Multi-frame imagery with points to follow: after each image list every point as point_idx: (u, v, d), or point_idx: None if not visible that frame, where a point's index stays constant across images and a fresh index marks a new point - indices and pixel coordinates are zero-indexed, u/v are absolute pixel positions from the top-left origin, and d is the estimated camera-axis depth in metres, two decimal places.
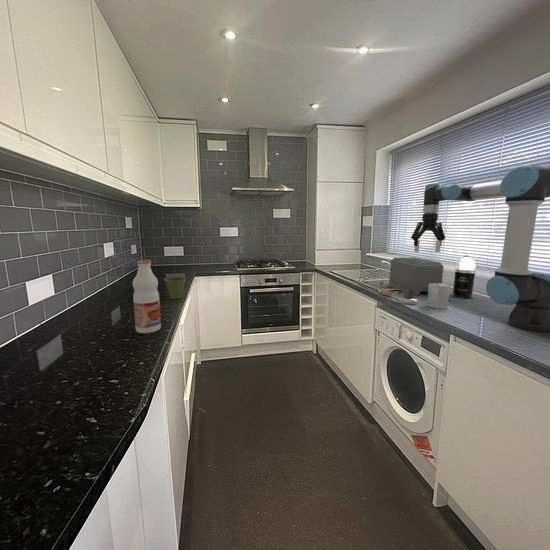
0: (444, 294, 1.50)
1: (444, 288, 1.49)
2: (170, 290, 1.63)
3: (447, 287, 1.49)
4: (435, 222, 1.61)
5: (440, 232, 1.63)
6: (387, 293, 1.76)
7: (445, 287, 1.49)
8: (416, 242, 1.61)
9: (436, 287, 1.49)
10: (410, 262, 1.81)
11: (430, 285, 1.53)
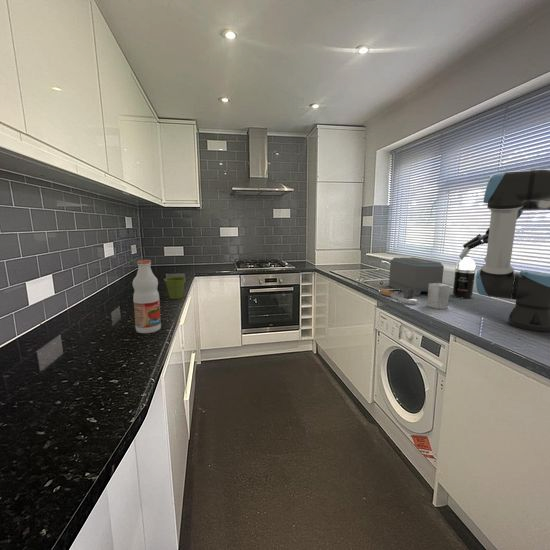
0: (444, 294, 1.50)
1: (444, 288, 1.49)
2: (170, 290, 1.63)
3: (447, 287, 1.49)
4: None
5: None
6: (387, 293, 1.76)
7: (445, 287, 1.49)
8: None
9: (436, 287, 1.49)
10: (410, 262, 1.81)
11: (430, 285, 1.53)
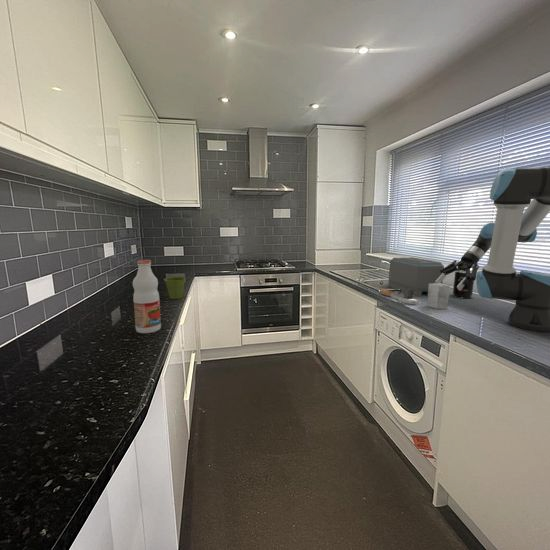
0: (444, 294, 1.50)
1: (444, 288, 1.49)
2: (170, 290, 1.63)
3: (447, 287, 1.49)
4: (470, 262, 1.53)
5: None
6: (387, 293, 1.76)
7: (445, 287, 1.49)
8: None
9: (436, 287, 1.49)
10: (411, 262, 1.81)
11: (430, 285, 1.53)
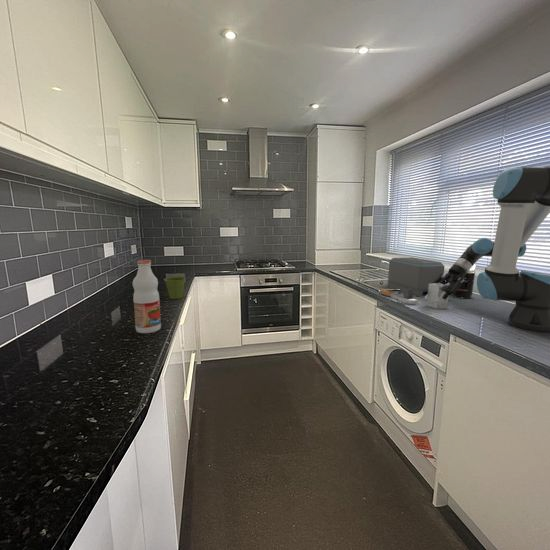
0: None
1: (444, 288, 1.49)
2: (170, 290, 1.63)
3: (447, 287, 1.49)
4: (458, 275, 1.51)
5: None
6: (387, 293, 1.76)
7: (445, 287, 1.49)
8: None
9: (436, 287, 1.49)
10: (412, 262, 1.80)
11: (430, 285, 1.53)
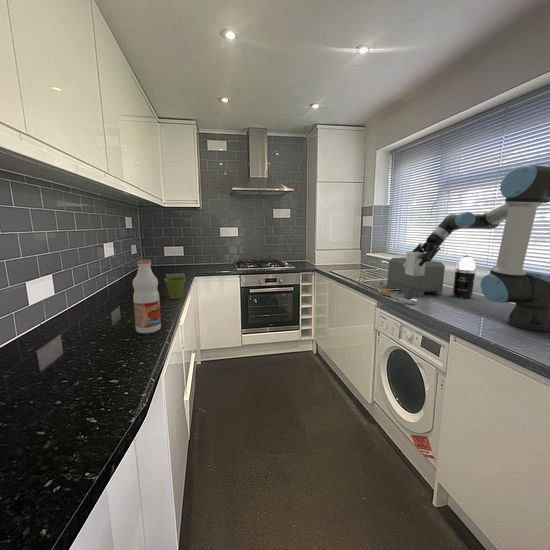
0: None
1: (420, 256, 1.54)
2: (170, 290, 1.63)
3: (423, 255, 1.55)
4: (434, 243, 1.56)
5: None
6: (387, 293, 1.76)
7: (422, 254, 1.54)
8: None
9: (413, 255, 1.55)
10: None
11: (408, 253, 1.59)
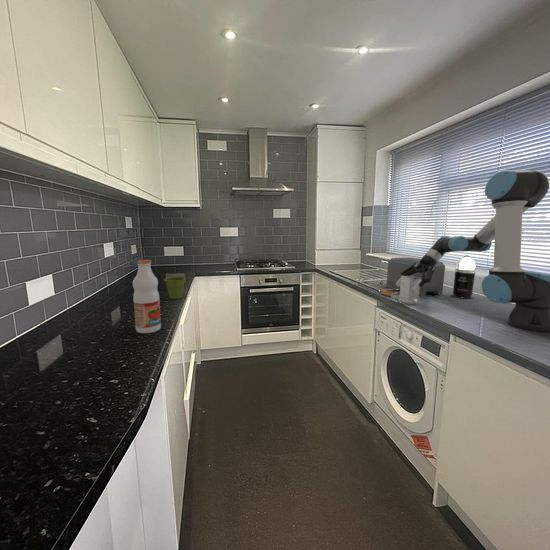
0: None
1: (415, 280, 1.56)
2: (170, 290, 1.63)
3: (418, 279, 1.57)
4: (427, 265, 1.58)
5: None
6: (387, 293, 1.76)
7: (416, 279, 1.56)
8: None
9: (408, 279, 1.57)
10: (414, 262, 1.80)
11: (402, 277, 1.60)
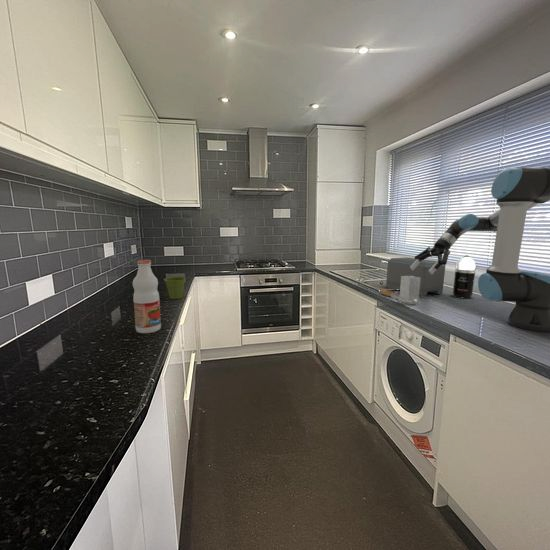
0: (415, 286, 1.57)
1: (415, 280, 1.56)
2: (170, 290, 1.63)
3: (418, 279, 1.57)
4: (442, 248, 1.59)
5: None
6: (387, 293, 1.76)
7: (416, 279, 1.56)
8: (415, 261, 1.68)
9: (408, 279, 1.57)
10: None
11: (402, 277, 1.60)
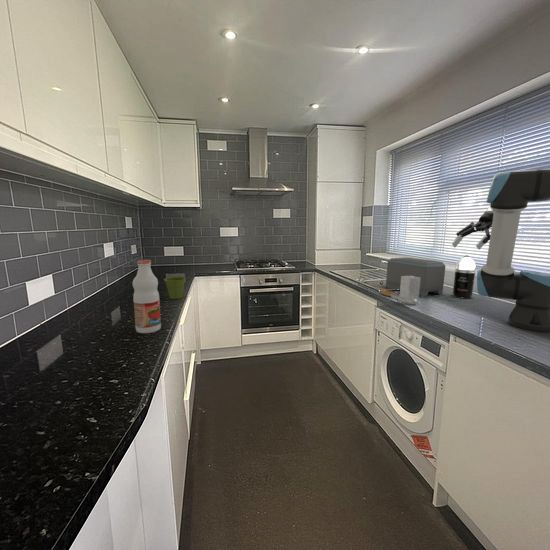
0: (415, 286, 1.57)
1: (415, 280, 1.56)
2: (170, 290, 1.63)
3: (418, 279, 1.57)
4: (489, 222, 1.48)
5: None
6: (387, 293, 1.76)
7: (416, 279, 1.56)
8: None
9: (408, 279, 1.57)
10: (416, 263, 1.79)
11: (402, 277, 1.60)
